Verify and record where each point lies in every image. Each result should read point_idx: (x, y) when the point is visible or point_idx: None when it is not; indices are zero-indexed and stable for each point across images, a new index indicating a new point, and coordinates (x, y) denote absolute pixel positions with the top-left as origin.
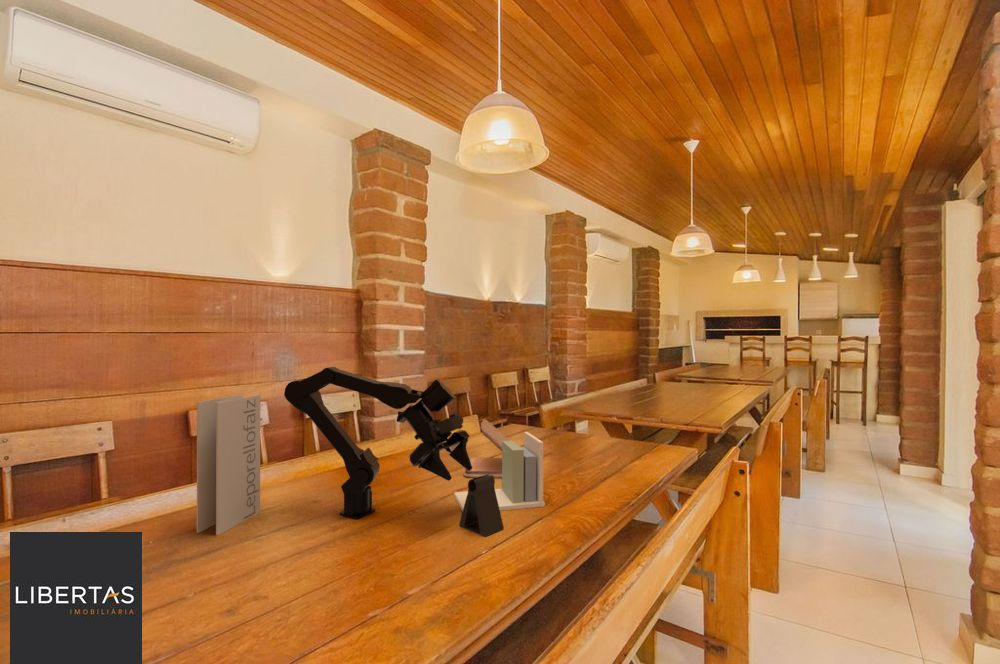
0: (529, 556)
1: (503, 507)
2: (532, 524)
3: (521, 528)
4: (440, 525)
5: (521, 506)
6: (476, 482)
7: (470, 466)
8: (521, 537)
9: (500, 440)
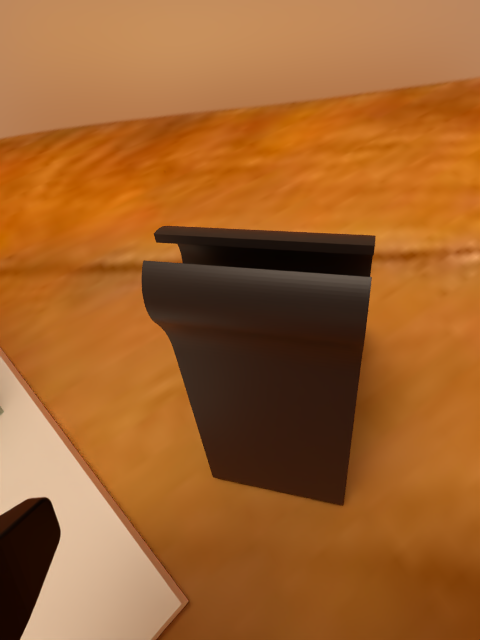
0: (386, 150)
1: (55, 428)
2: None
3: None
4: (407, 621)
5: (15, 372)
6: (364, 235)
7: (32, 511)
8: None
9: None
